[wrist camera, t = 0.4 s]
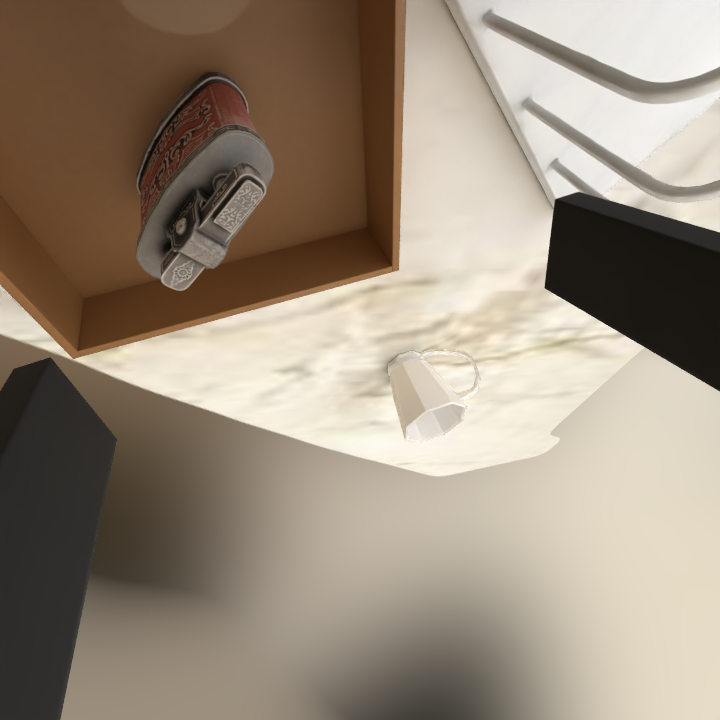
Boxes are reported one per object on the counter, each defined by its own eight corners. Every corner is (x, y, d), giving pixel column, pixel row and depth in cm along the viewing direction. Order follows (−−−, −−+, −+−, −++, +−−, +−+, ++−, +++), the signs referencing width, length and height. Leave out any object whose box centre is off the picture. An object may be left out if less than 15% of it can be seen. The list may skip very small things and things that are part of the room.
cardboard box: (-214, -53, 14) (-309, -29, 11) (362, -115, 17) (409, -110, 14) (80, 304, 27) (73, 359, 24) (373, 230, 31) (399, 270, 28)
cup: (365, 365, 43) (393, 429, 38) (448, 317, 42) (489, 376, 37) (388, 392, 49) (415, 450, 44) (463, 350, 47) (499, 405, 42)
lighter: (178, 214, 25) (191, 326, 19) (121, 180, 22) (114, 296, 17) (260, 105, 22) (306, 197, 16) (204, 52, 20) (234, 136, 14)
